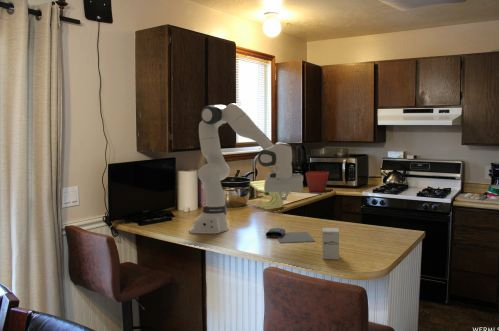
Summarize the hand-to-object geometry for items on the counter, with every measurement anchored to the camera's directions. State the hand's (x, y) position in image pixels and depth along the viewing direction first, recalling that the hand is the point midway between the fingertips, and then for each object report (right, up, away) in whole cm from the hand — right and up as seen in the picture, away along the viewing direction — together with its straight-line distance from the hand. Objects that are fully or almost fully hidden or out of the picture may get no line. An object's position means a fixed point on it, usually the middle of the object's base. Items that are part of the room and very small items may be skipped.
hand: (283, 200), depth 228 cm
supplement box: (+18, -23, -34) cm, 45 cm away
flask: (-5, -19, +2) cm, 19 cm away
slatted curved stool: (-2, -12, +92) cm, 93 cm away
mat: (+6, -20, +2) cm, 21 cm away
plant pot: (+43, -5, +161) cm, 166 cm away
